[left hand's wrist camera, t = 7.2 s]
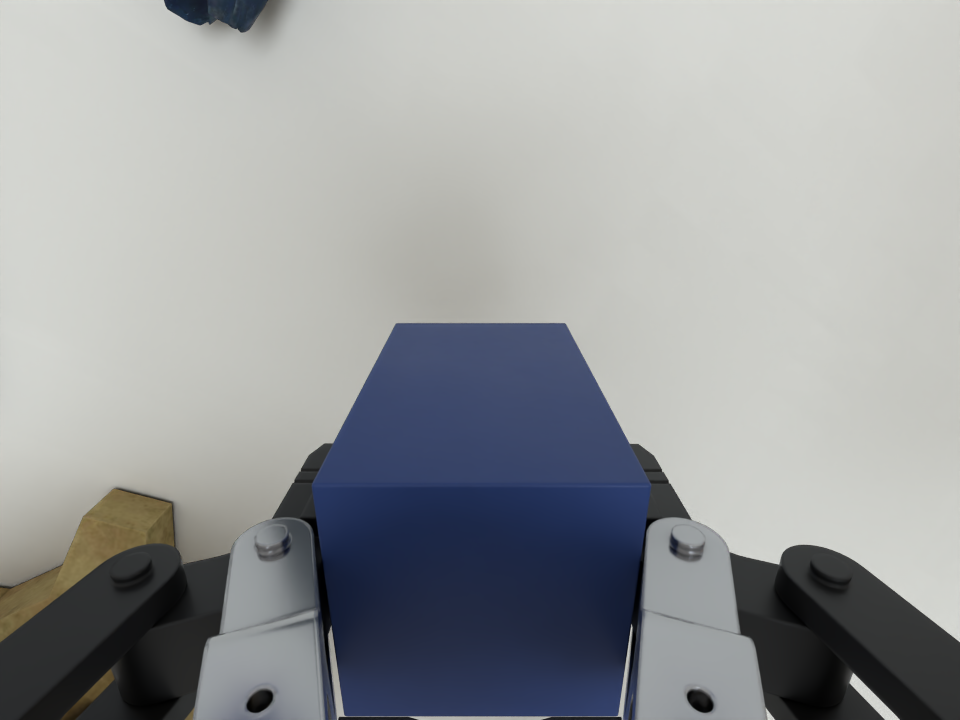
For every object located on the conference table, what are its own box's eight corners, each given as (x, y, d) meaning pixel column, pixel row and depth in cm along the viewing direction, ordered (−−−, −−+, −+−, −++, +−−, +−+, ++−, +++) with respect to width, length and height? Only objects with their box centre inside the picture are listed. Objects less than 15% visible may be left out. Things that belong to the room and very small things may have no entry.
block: (565, 322, 14) (652, 484, 7) (556, 468, 16) (618, 717, 9) (395, 322, 14) (310, 484, 7) (405, 468, 16) (343, 717, 9)
